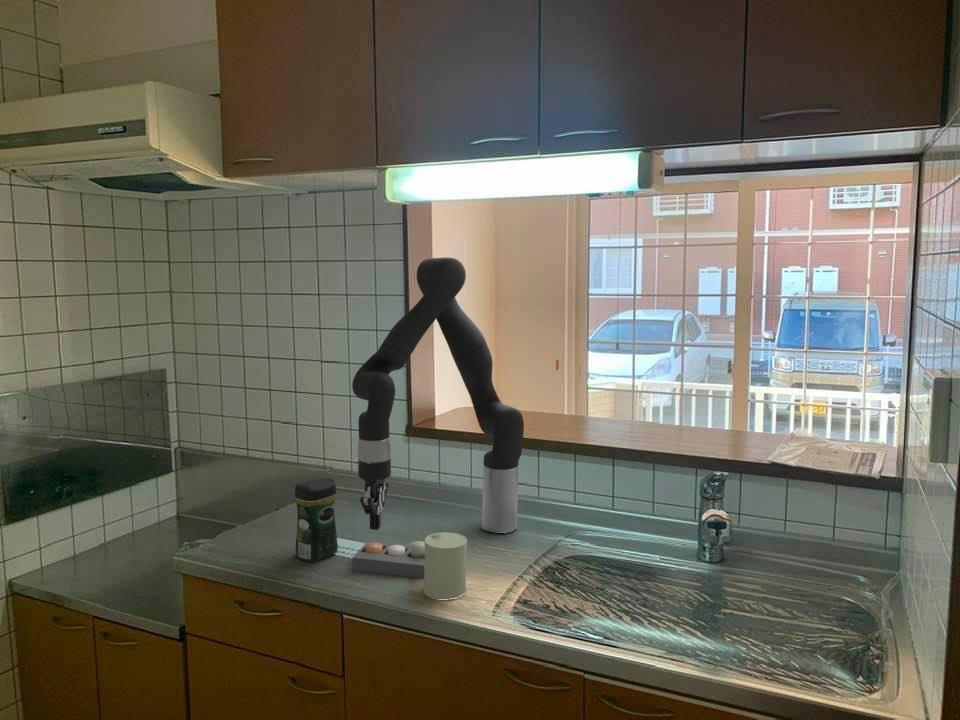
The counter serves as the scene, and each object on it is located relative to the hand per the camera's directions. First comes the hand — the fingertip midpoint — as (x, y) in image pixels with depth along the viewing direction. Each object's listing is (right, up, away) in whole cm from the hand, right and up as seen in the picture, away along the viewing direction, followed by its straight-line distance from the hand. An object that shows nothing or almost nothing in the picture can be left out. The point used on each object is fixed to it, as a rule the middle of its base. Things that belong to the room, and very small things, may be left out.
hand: (375, 528), depth 172 cm
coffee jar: (-15, -7, +4) cm, 17 cm away
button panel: (+5, -8, 0) cm, 9 cm away
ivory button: (+5, -7, 0) cm, 9 cm away
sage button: (+10, -6, -2) cm, 12 cm away
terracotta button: (0, -7, +1) cm, 7 cm away
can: (+17, -11, -14) cm, 24 cm away
